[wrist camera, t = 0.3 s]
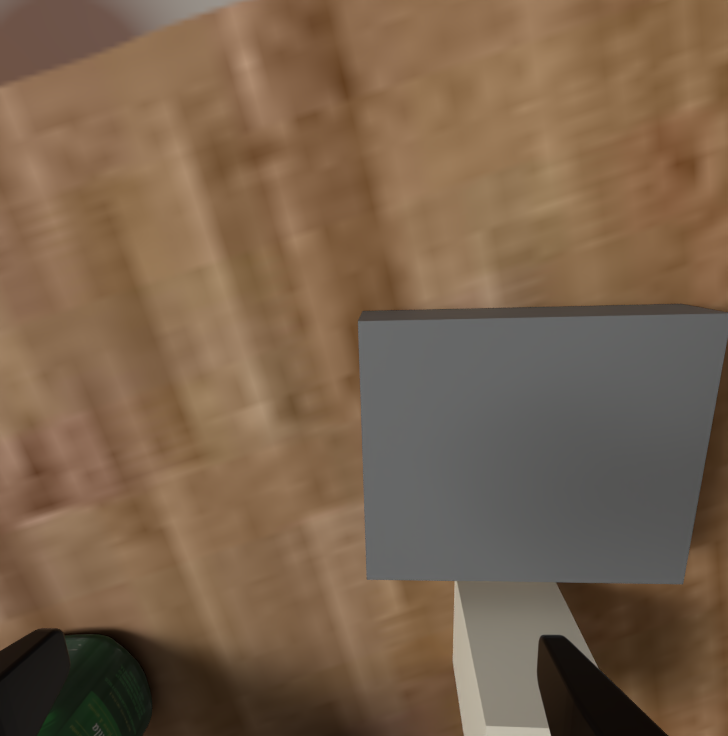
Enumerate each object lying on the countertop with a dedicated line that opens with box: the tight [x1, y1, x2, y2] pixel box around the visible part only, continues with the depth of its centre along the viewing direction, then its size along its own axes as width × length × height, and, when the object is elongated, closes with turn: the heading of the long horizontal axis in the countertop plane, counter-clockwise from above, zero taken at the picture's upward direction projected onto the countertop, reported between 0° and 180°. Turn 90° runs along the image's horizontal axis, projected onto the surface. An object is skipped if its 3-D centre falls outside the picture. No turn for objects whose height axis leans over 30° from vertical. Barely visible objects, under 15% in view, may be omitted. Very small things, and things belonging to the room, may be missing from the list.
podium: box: [358, 304, 728, 584], centre depth 20 cm, size 12×14×3 cm
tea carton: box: [453, 581, 598, 736], centre depth 20 cm, size 6×5×8 cm
